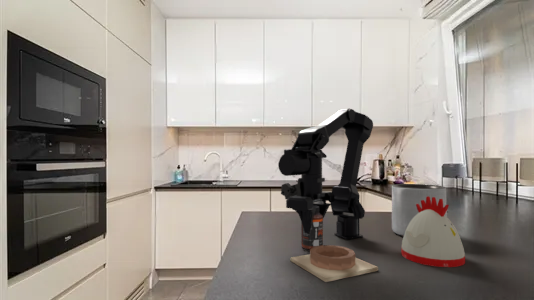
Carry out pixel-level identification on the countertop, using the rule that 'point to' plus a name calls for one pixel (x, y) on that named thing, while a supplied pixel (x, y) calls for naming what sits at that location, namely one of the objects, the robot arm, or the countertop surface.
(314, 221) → the supplement bottle
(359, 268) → the collar stand
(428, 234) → the kitchen timer
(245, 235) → the countertop surface
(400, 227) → the planter
